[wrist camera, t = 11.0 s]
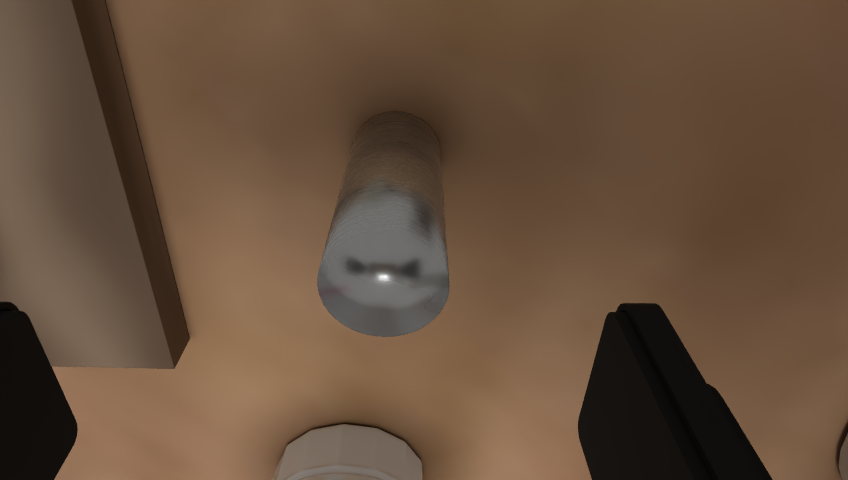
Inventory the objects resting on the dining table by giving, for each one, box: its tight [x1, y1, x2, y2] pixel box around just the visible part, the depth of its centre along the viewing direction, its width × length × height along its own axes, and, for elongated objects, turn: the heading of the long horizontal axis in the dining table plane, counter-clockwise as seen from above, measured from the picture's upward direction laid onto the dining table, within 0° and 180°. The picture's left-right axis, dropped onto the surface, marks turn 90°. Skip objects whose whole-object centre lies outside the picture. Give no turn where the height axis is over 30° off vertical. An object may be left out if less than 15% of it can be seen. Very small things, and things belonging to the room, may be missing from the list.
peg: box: [318, 111, 449, 337], centre depth 15 cm, size 3×3×7 cm
